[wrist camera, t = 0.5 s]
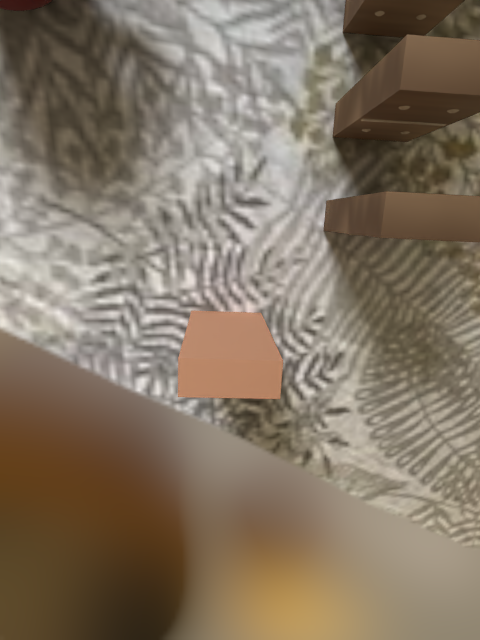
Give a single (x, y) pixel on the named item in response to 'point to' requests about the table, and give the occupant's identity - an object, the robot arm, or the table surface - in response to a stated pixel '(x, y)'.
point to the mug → (22, 4)
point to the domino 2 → (395, 16)
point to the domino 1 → (229, 357)
